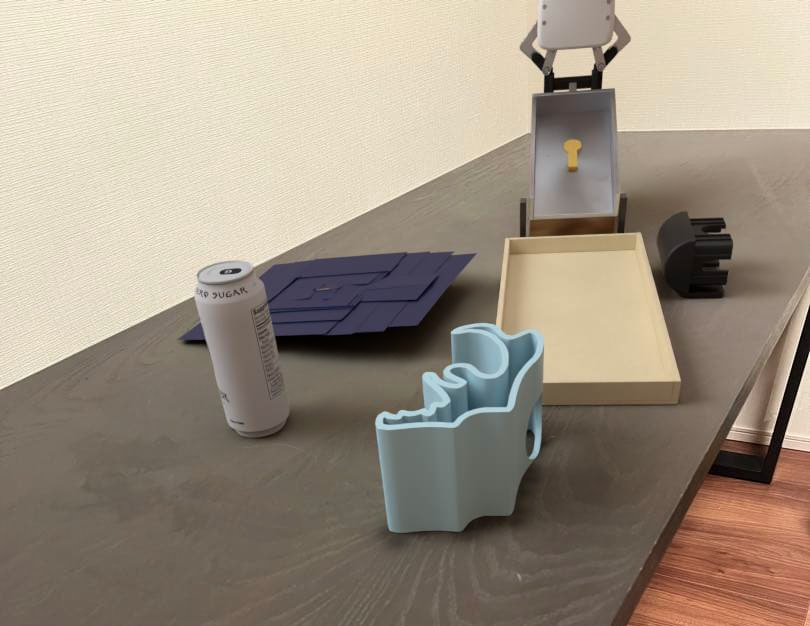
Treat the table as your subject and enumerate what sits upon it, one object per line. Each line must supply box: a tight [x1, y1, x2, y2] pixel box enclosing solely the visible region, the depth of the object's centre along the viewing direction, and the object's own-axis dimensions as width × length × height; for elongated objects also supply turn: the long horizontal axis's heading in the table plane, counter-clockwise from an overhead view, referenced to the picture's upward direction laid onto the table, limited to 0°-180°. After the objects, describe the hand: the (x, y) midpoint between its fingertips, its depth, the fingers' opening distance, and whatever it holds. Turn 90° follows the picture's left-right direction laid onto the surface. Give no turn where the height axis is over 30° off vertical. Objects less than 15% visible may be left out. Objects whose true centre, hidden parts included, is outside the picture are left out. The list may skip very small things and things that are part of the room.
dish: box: [528, 74, 622, 221], centre depth 106 cm, size 11×26×3 cm, turn 172°
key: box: [564, 140, 582, 170], centre depth 106 cm, size 6×2×1 cm, turn 172°
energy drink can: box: [193, 259, 291, 438], centre depth 71 cm, size 6×6×15 cm
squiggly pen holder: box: [374, 322, 544, 534], centre depth 64 cm, size 18×10×9 cm, turn 162°
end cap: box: [656, 210, 734, 299], centre depth 91 cm, size 10×7×7 cm
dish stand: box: [519, 192, 628, 237], centre depth 111 cm, size 14×19×6 cm
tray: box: [495, 232, 682, 406], centre depth 88 cm, size 17×39×2 cm, turn 172°
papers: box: [177, 250, 478, 341], centre depth 95 cm, size 24×30×4 cm
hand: (571, 102), depth 112 cm, fingers closed on dish, 5 cm apart
